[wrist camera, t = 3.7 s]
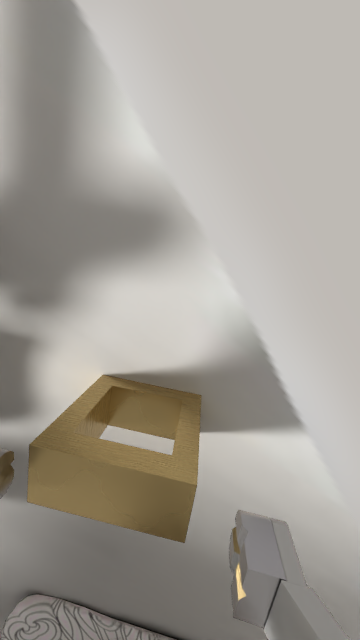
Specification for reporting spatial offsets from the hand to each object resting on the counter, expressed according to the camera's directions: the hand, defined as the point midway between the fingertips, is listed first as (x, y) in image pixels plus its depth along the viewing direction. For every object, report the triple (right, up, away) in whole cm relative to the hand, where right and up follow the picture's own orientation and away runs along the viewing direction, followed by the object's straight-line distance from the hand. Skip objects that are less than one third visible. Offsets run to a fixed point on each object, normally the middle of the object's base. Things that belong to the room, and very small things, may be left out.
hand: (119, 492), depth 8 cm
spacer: (0, +1, +6) cm, 6 cm away
